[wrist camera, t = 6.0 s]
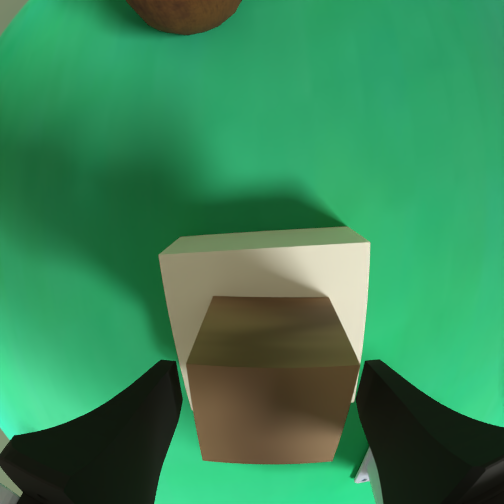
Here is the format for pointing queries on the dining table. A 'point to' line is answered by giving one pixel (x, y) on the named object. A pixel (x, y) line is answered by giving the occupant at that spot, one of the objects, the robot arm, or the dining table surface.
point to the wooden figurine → (184, 14)
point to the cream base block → (265, 276)
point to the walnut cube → (271, 380)
